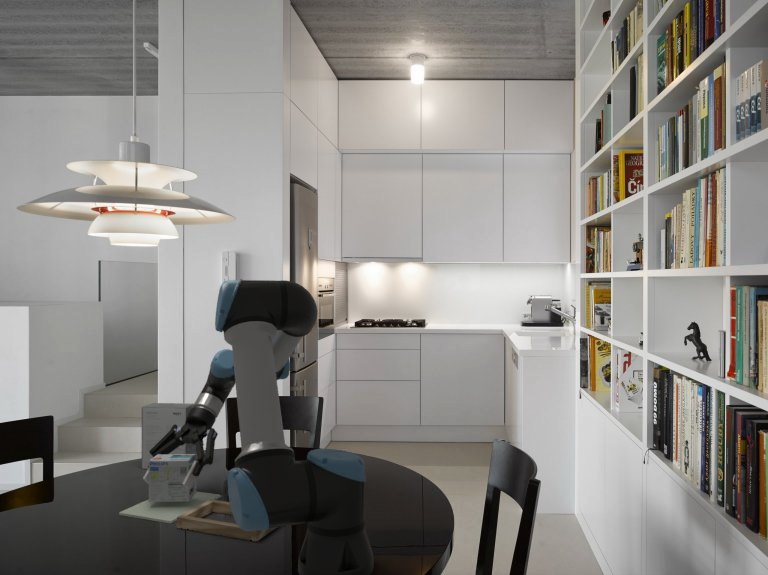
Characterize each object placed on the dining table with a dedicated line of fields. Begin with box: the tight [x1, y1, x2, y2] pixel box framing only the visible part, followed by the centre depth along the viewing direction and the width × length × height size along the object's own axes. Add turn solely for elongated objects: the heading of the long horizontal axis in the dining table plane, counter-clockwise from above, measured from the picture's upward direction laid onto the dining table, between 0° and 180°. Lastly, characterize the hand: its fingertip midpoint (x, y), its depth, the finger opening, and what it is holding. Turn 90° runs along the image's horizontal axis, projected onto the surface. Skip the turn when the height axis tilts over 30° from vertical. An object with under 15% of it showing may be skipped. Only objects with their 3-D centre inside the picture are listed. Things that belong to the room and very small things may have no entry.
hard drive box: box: [141, 402, 197, 470], centre depth 187 cm, size 16×8×20 cm, turn 82°
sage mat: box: [118, 490, 222, 524], centre depth 151 cm, size 20×16×1 cm
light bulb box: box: [147, 453, 197, 502], centre depth 152 cm, size 11×7×11 cm, turn 92°
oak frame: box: [176, 499, 278, 542], centre depth 139 cm, size 13×22×2 cm, turn 70°
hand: (165, 484), depth 149 cm, fingers closed on light bulb box, 12 cm apart
